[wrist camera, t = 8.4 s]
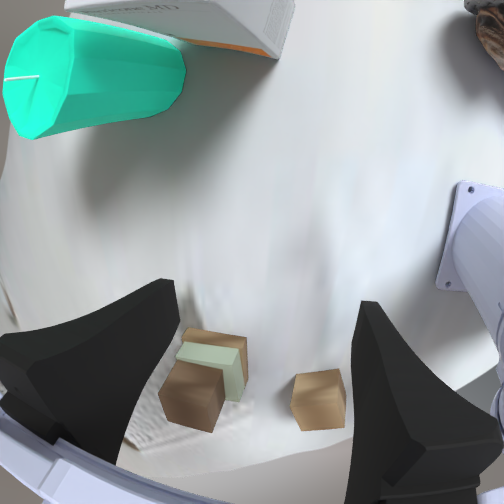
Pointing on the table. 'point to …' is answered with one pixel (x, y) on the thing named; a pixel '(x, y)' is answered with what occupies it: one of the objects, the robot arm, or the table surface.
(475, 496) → the robot arm
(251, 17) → the skincare box
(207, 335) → the slab bottom
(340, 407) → the oak cube
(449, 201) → the table surface
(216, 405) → the walnut cube
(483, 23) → the bison figurine
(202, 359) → the slab top
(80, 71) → the candle
